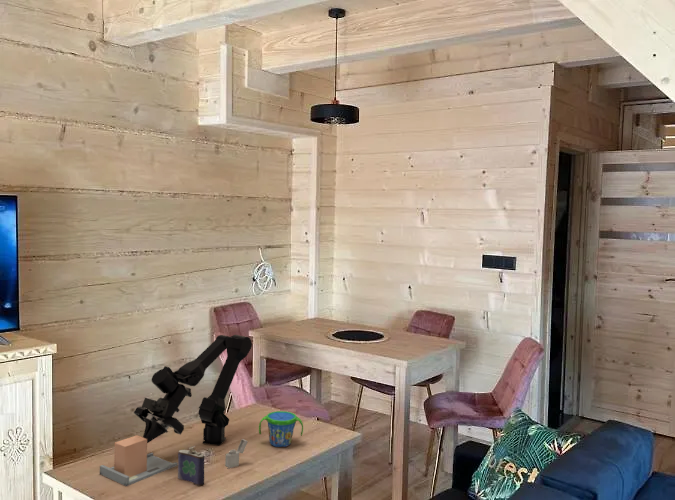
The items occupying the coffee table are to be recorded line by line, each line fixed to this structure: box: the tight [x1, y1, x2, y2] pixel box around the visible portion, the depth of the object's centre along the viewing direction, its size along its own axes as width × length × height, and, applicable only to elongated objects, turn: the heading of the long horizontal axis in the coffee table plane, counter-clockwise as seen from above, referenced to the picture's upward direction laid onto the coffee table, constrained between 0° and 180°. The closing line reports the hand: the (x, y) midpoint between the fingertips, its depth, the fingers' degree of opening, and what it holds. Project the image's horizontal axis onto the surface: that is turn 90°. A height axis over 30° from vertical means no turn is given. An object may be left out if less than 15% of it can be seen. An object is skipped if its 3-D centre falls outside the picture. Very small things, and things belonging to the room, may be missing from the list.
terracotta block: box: [113, 434, 148, 478], centre depth 184 cm, size 8×5×10 cm, turn 145°
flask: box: [177, 445, 205, 487], centre depth 181 cm, size 9×3×11 cm, turn 65°
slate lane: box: [99, 452, 178, 487], centre depth 187 cm, size 19×13×3 cm
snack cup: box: [258, 410, 304, 448], centre depth 213 cm, size 16×10×10 cm
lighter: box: [225, 438, 249, 470], centre depth 194 cm, size 7×2×8 cm, turn 129°
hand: (142, 444), depth 188 cm, fingers closed, pressing on terracotta block
